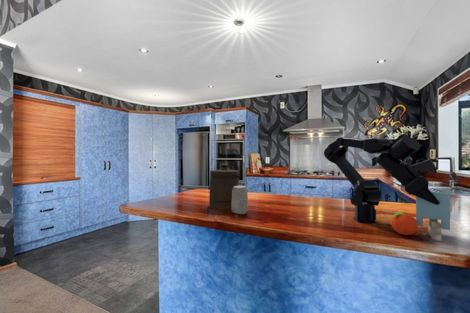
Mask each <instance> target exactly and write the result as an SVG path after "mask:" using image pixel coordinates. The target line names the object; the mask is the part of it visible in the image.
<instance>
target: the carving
mask: <svg viewBox="0 0 470 313" xmlns="http://www.w3.org/2000/svg"><path fill="white" fill-rule="evenodd" d="M248 205H249V197H248V187H247V186H245V185H239V186H234V187H233V189H232V201H231V208H232V209H231V212H232V213H234V214H237V215H245V214H247V211H248Z"/></svg>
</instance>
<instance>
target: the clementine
mask: <svg viewBox="0 0 470 313" xmlns="http://www.w3.org/2000/svg"><path fill="white" fill-rule="evenodd" d="M390 221H391V222H390V224H391V227H392V229H393V230H394V231H395V232H396V233H398V234H400V235H403V236H412V235H413V234H415V233H417V230H418V227H419V226H418V224H417V221H416V217H414V216H412V215H411V214H409V213H406V212H398V213H397V212H396V213H395V214H393V215H392V216H391V217H390Z"/></svg>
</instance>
